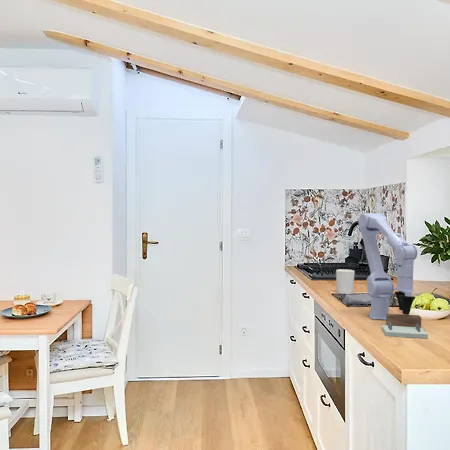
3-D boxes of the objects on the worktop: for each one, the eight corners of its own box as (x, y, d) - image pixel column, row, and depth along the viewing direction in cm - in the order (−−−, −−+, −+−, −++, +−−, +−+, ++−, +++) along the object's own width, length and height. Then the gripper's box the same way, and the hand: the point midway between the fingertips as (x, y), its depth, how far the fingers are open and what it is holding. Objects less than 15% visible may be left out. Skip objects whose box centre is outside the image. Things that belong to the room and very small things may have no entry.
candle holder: (331, 292, 257) (332, 270, 257) (341, 290, 265) (341, 268, 264) (348, 295, 251) (349, 272, 250) (357, 292, 258) (358, 270, 258)
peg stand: (381, 329, 180) (381, 319, 179) (421, 331, 177) (421, 322, 177) (385, 336, 170) (386, 326, 170) (427, 338, 167) (427, 328, 167)
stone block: (374, 309, 226) (367, 300, 236) (375, 299, 225) (368, 291, 235) (349, 309, 226) (343, 301, 235) (350, 300, 224) (344, 292, 234)
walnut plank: (386, 324, 187) (386, 313, 187) (418, 326, 185) (419, 315, 185) (387, 327, 183) (388, 315, 183) (421, 329, 181) (421, 317, 181)
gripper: (391, 273, 192) (390, 307, 192) (397, 278, 177) (396, 315, 178) (409, 274, 190) (408, 308, 191) (417, 279, 176) (416, 316, 176)
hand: (404, 312), depth 184 cm, fingers open, 7 cm apart
